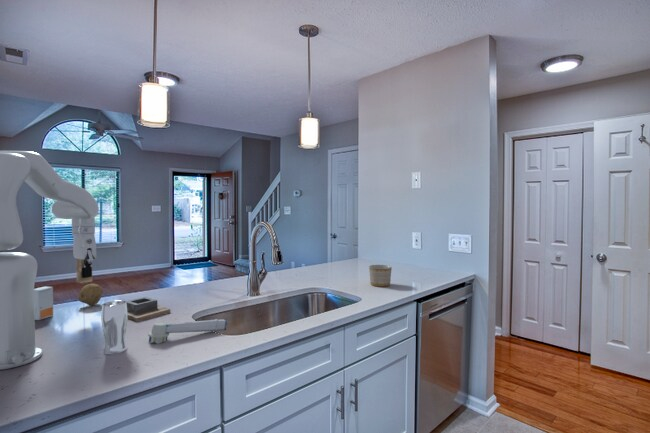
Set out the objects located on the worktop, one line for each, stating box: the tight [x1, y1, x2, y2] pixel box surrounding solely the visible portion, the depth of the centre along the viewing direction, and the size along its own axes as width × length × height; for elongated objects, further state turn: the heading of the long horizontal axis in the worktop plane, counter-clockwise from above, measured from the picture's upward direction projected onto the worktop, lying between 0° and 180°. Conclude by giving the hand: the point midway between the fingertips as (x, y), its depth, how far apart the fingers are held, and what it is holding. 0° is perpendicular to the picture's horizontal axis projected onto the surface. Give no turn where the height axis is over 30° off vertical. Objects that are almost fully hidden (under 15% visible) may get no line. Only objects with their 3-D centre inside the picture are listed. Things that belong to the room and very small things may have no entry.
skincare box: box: [34, 285, 54, 321], centre depth 137 cm, size 6×4×12 cm
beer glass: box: [100, 299, 129, 356], centre depth 107 cm, size 7×7×15 cm
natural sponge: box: [77, 283, 104, 307], centre depth 153 cm, size 9×9×10 cm
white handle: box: [147, 318, 228, 344], centre depth 119 cm, size 5×7×25 cm
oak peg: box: [75, 258, 93, 284], centre depth 137 cm, size 4×4×10 cm
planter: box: [368, 264, 393, 288], centre depth 194 cm, size 13×13×10 cm
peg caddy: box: [126, 296, 171, 323], centre depth 144 cm, size 20×14×5 cm
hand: (84, 276), depth 137 cm, fingers closed on oak peg, 4 cm apart
